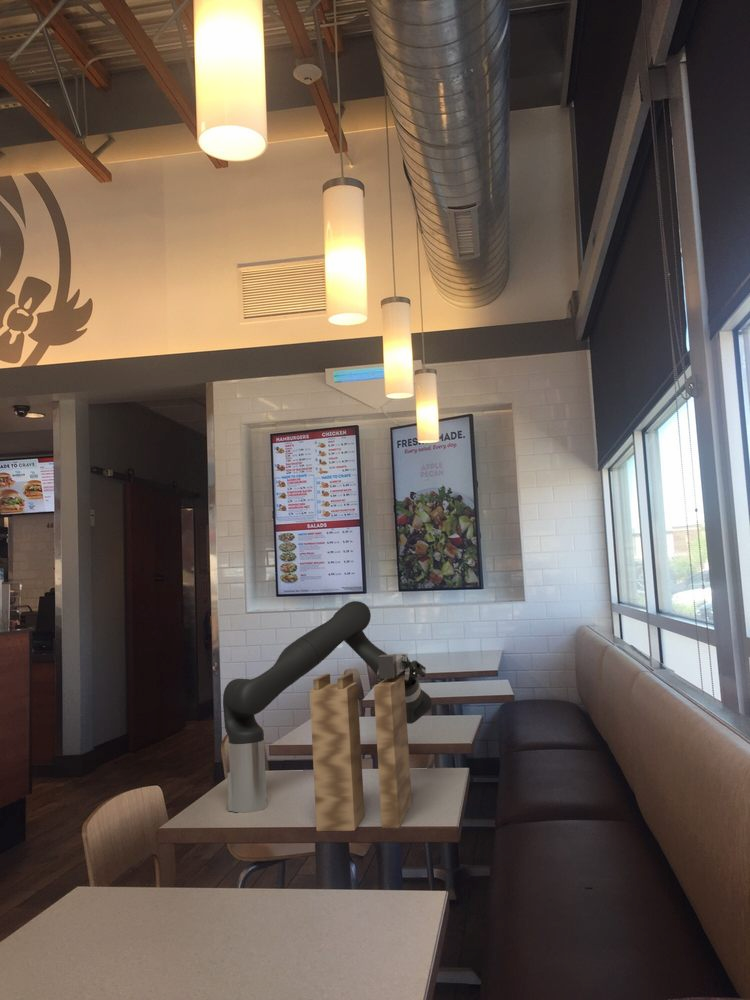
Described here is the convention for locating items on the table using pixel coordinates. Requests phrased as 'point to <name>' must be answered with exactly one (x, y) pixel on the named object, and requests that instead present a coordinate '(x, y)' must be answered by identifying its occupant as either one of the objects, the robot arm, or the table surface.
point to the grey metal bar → (390, 665)
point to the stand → (358, 753)
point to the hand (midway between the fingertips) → (395, 658)
